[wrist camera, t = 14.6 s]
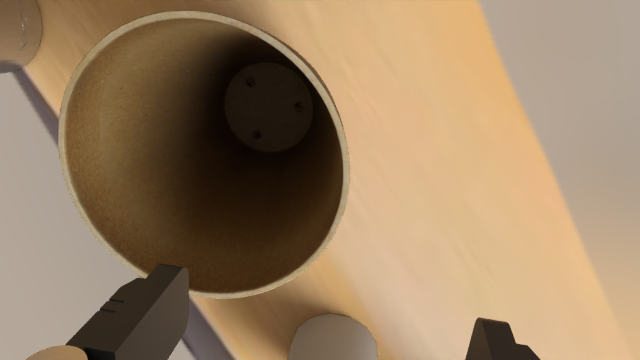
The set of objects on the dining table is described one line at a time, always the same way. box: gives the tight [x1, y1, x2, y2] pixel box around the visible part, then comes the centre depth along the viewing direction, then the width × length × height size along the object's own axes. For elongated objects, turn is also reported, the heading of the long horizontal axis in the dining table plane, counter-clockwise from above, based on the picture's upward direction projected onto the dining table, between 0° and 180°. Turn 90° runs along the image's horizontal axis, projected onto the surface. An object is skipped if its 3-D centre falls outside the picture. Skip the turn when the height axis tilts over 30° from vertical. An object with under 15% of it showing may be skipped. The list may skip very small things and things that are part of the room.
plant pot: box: [58, 11, 350, 299], centre depth 31 cm, size 15×15×16 cm
